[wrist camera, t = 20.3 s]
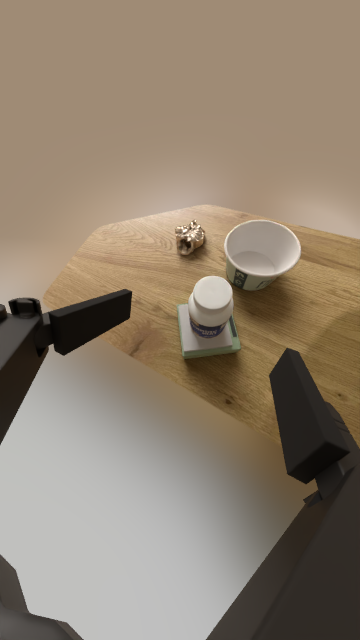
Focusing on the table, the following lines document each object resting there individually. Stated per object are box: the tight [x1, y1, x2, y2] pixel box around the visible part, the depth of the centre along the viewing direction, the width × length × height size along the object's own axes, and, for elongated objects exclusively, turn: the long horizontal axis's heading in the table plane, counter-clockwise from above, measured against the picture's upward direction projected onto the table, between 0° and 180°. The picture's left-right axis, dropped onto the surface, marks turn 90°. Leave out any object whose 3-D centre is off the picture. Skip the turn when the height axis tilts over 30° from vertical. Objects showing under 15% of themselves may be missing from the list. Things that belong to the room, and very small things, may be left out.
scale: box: [177, 303, 241, 359], centre depth 27 cm, size 9×9×4 cm
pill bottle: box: [188, 276, 234, 339], centre depth 21 cm, size 5×5×10 cm
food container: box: [224, 220, 301, 290], centre depth 30 cm, size 12×12×6 cm
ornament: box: [175, 220, 205, 255], centre depth 35 cm, size 8×7×4 cm
